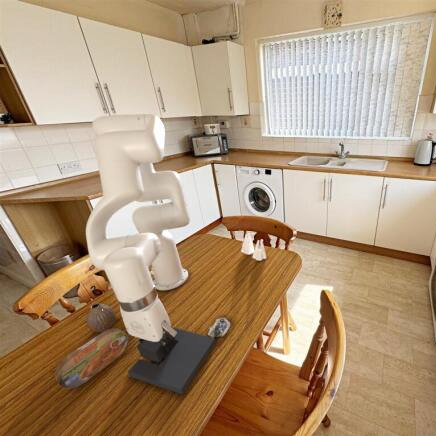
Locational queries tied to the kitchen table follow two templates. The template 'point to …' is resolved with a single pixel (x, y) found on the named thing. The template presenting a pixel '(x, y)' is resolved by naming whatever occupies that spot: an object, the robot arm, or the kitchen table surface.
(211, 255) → the kitchen table surface
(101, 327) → the vase
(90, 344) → the tin
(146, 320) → the robot arm
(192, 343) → the charcoal pad
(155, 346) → the dark grey squat block
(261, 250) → the shaker set
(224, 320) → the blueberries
